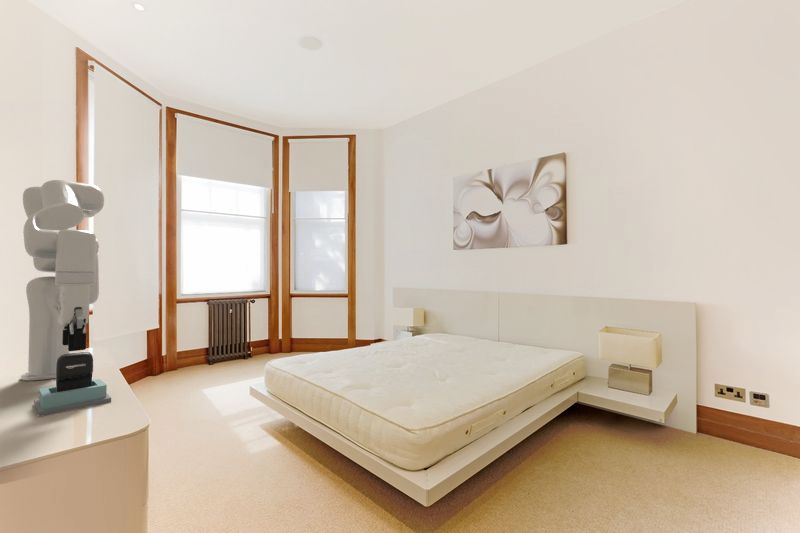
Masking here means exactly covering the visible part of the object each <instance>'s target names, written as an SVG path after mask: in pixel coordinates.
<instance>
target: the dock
mask: <svg viewBox="0 0 800 533" xmlns="http://www.w3.org/2000/svg"><path fill="white" fill-rule="evenodd" d="M107 387H108V386H107V384H106V383H105V382H104V381H103V380H102V379H100V378H97V379H92V386H91V387H85V388H79V389H73V390H68V391H62V392H56V385H54V386H49V387H43V388H42V387H41V388H39V389H38V399H36V400H33V404H34V409H35V411H36V413H37V416H38V417H39V418H40V417H44V416H49V415H54V414H58V413H63V412H68V411H73V410H77V409H82V408H88V407H93V406H97V405H102V404H107V403H111V402H112V397H111V396H110V395H109V394H108V393H107V389H108V388H107Z"/></svg>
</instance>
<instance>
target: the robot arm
mask: <svg viewBox="0 0 800 533" xmlns="http://www.w3.org/2000/svg"><path fill="white" fill-rule="evenodd" d="M22 204H23V205H22V207H23V209H24V212H25V216H26V217H27V219H26V221H25V223H24V226H23V232H22V234H23V243H24V248H25V252H26V254H28V255H29V256H30V257H32V259H33V260H32V262H33V266H34V268H35V270H37V271H39V272H42V273H51V274H53V273H54V274H55V275H54V276H48V275H47V276H39V277H35V278H32V279H30V280H29V281H28V283H27V284H26V289H25V291H26V292H25V293H26V299H27V304H28V314H29V316H28V317H29V318H28V320H29V324H28V325H29V326H28V330H29V332H28V335H29V336H28V362H27V363H28V366H27V367H28V368H27V369H28V370H27V372H24V373H23V374H21V375H20V380H21V381H29V382H30V381H42V380H43V381H45V380H49V379H56V361H57V358H58V357H59V356H60V355H62V354H66V353H71V352H80V351H86V349H87V333H86V332H87V329H86V325H87V324H88V323H89V316H90V305H91V304H94V303H95V302H97V300H98V298H99V295H100V277H99V274H100V273H99V271H100V270H99V255H98V253H99V246H100V245H99V240H98V238H97V235H96V234H95V233H94V232H92V231H89V230H83V229H82V230H81V229H72V228H74V227H77V226H79V225H80V224H81V223H82V221H83V220H84V218H87V219H88V218H92V217H94V216H96V215H97V214H99V213H100V212H101V211H102V210H103V208H104V205H105V197H104V193H103V191H102V190H101V188H99V186H96V185H94V184H89V183H84V182H77V181H69V180H63V179H52V180H47V181H45V182H44V183H43V184H41V186H31V187H27V188H25V189H24V191H23V193H22Z"/></svg>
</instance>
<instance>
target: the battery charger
mask: <svg viewBox="0 0 800 533" xmlns="http://www.w3.org/2000/svg"><path fill="white" fill-rule="evenodd" d="M93 374H94V357H93V354H92V353H91V352H90V351H86V350H84V351H73V352H70V353H66V354H62V355H60V356H59V357H58V358H57V361H56V378H55V386H56V392H62V391H68V390H73V389H79V388H85V387H91V386H92V380H93Z"/></svg>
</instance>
